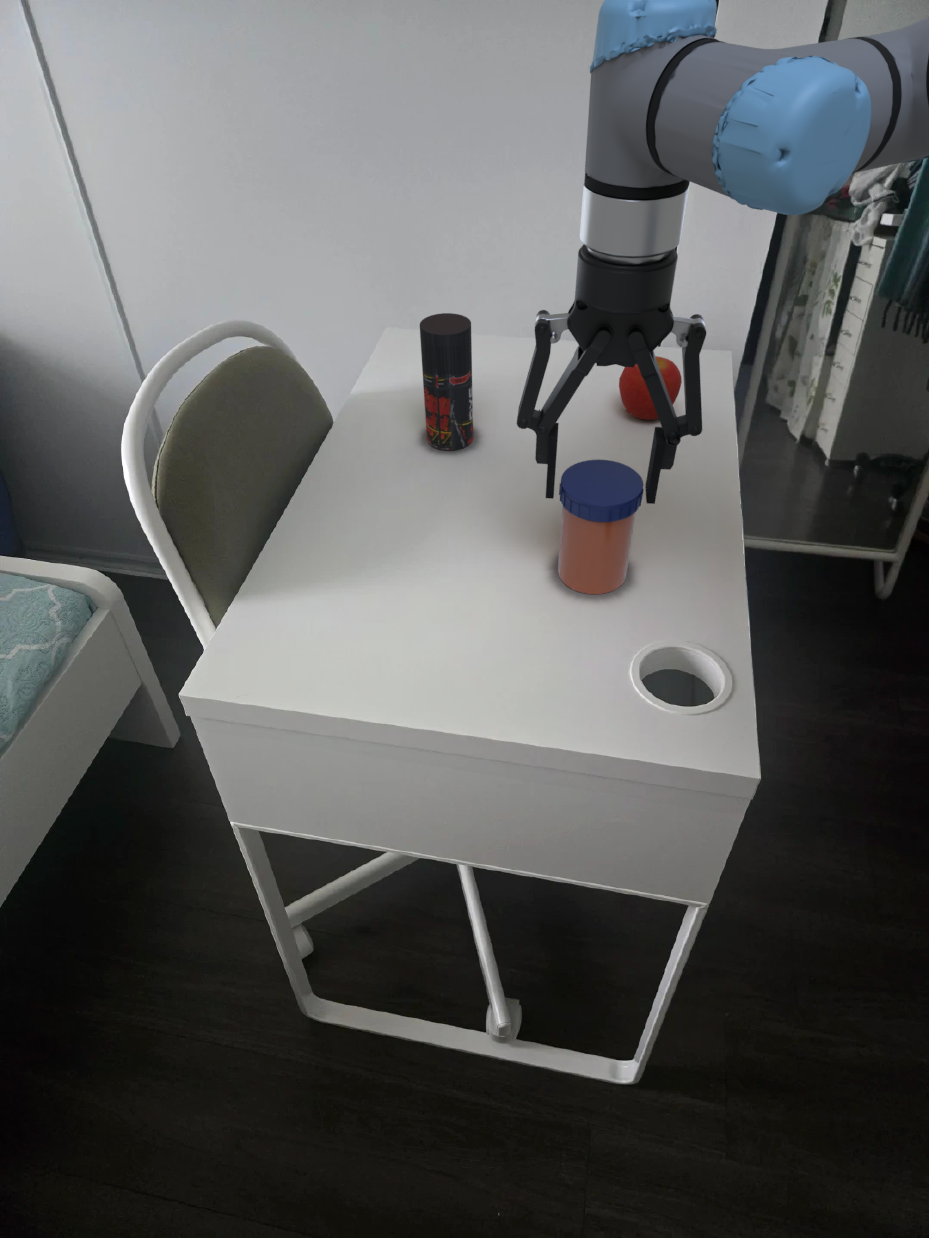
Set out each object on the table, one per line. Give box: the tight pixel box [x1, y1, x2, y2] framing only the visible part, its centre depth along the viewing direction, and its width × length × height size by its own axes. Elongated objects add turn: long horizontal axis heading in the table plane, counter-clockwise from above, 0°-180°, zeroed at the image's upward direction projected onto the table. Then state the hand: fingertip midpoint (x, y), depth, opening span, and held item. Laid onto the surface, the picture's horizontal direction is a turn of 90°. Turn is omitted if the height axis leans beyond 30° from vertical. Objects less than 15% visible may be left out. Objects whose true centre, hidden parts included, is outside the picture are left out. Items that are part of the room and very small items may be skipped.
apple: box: [618, 355, 683, 421], centre depth 104 cm, size 8×8×8 cm
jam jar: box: [557, 506, 637, 595], centre depth 80 cm, size 7×7×11 cm
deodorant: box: [419, 312, 474, 452], centre depth 98 cm, size 6×6×15 cm
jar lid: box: [558, 459, 645, 522], centre depth 77 cm, size 8×8×2 cm
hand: (599, 492), depth 77 cm, fingers open, 9 cm apart
